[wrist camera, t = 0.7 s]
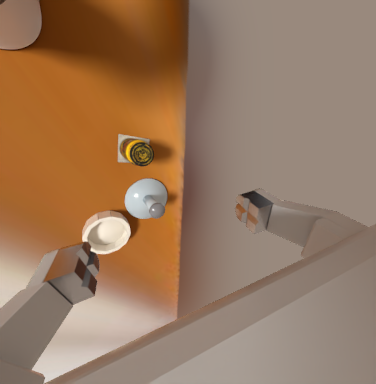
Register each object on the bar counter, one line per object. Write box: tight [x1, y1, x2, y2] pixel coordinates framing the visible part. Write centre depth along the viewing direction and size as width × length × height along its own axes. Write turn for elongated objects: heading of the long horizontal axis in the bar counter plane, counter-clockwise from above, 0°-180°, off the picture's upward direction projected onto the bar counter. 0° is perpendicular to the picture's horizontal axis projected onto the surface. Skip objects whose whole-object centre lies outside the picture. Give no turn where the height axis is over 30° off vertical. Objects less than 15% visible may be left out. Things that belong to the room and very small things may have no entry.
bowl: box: [82, 210, 131, 254], centre depth 45 cm, size 12×12×4 cm
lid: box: [125, 178, 167, 219], centre depth 46 cm, size 14×14×10 cm
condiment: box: [118, 134, 154, 166], centre depth 38 cm, size 7×8×12 cm
